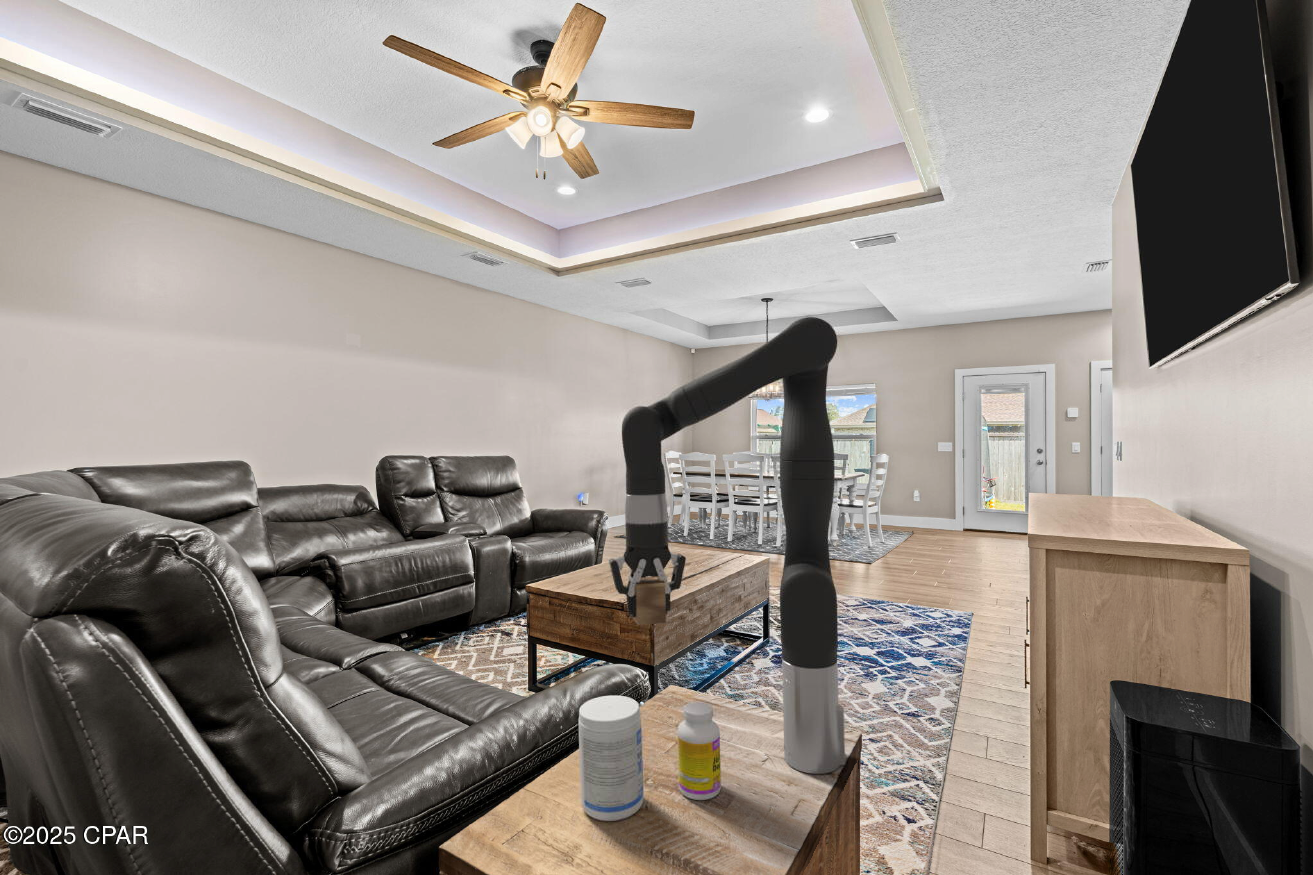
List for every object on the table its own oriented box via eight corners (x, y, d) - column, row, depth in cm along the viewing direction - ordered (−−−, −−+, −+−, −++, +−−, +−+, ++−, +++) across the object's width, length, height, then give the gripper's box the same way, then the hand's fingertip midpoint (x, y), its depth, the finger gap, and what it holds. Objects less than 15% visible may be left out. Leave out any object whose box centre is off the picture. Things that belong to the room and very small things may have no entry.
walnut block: (659, 614, 108) (658, 576, 109) (666, 622, 104) (665, 582, 104) (632, 617, 107) (631, 578, 107) (637, 625, 102) (636, 584, 103)
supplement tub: (654, 811, 88) (652, 712, 89) (595, 832, 84) (593, 728, 84) (626, 779, 97) (624, 689, 97) (571, 797, 92) (569, 702, 93)
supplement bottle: (719, 804, 90) (716, 718, 90) (675, 800, 91) (673, 715, 91) (723, 779, 96) (721, 700, 96) (682, 775, 98) (680, 697, 98)
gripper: (679, 514, 111) (682, 606, 111) (603, 518, 108) (605, 612, 107) (691, 519, 104) (693, 617, 103) (609, 524, 100) (611, 625, 100)
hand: (648, 614), depth 105 cm, fingers closed on walnut block, 5 cm apart
